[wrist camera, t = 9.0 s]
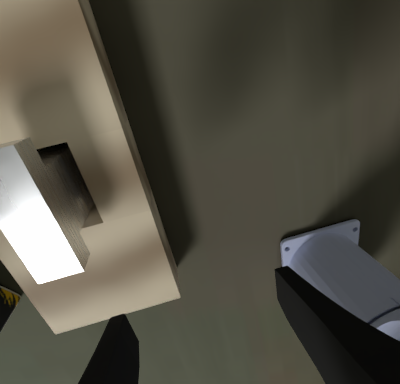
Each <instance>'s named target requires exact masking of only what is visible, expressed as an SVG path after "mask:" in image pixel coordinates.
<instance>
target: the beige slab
mask: <svg viewBox="0 0 400 384" xmlns="http://www.w3.org/2000/svg"><path fill="white" fill-rule="evenodd" d="M28 137H30V138H31V140H32V142H33V144H34V146H35V148H36V149H40V148H44V147H48V146H52V145H57V144H61V143H65V142H67V144H68V146H69V148H70V150H71V153H72V155H73V157H74V159H75V161H76V163H77V166H78V168H79V170H80V172H81V174H82V177H83V179H84V181H85V183H86V185H87V188H88V190H89V192H90V194H91V196H92V199H93V201H94V203H95V204H93V206H92V208H91V210H90V212H89V214H88V216H87V218H86V220H85V223H84V225H83V227H82V229H81V231H80V234H81V236H82V238H83V240H84V242H85V244H86V246H87V248H88V250H89V252H90V256H89V259H88V261H87V264H86V267H85V270H84V271H83V272H79V273H76V274H72V275H69V276H65V277H62V278H58V279H54V280H51V281H47V282H44V283H40V284H38V283H37V281H36V280H35V278H34V277H33V275H32V274H31V272H30V271H29V270H28V268H27V267H26V265H25V264H24V262H23V261H22V259H21V258H20V256H19V255H18V254H17V252H16V251H15V249H14V248H13V246H12V245H11V243H10V242H9V241H8V239H7V238H6V236H5V235H4V233H3V232H2V230H1V229H0V260H1V261H2V263H3V264H4V265H5V267H6V268H7V269H8V271H9V272H10V274H11V275H12V276H13V278H14V279H15V280H16V282H17V283H18V284H19V286H20V287H21V288H22V290H23V291H24V292H25V294H26V295H27V297H28V298H29V299H30V301H31V302H32V303H33V305H34V306H35V307H36V309H37V310H38V311H39V313H40V314H41V316H42V317H43V318H44V320H45V321H46V322H47V324H48V325H49V326H50V328H51V329H52V330H53V332H54V333H55V334H59V333H62V332H66V331H69V330H72V329H76V328H79V327H83V326H86V325H89V324H93V323H96V322H100V321H103V320H106V319H110V318H111V317H113V316H117V315H120V314H124V313H125V314H127V313H130V312H134V311H137V310H140V309H144V308H147V307H151V306H154V305H157V304H161V303H164V302H168V301H171V300H174V299H178V298H181V296H180V288H179V280H178V272H177V266H176V263H175V260H174V257H173V254H172V251H171V248H170V245H169V242H168V239H167V236H166V233H165V230H164V227H163V224H162V221H161V218H160V215H159V212H158V209H157V206H156V203H155V200H154V197H153V194H152V191H151V188H150V185H149V181H148V178H147V175H146V172H145V169H144V166H143V163H142V160H141V157H140V154H139V151H138V148H137V145H136V142H135V139H134V136H133V133H132V130H131V127H130V124H129V121H128V118H127V115H126V112H125V109H124V106H123V103H122V100H121V97H120V94H119V91H118V88H117V85H116V82H115V78H114V75H113V72H112V69H111V66H110V63H109V60H108V57H107V54H106V51H105V48H104V45H103V42H102V39H101V36H100V33H99V30H98V27H97V24H96V21H95V18H94V15H93V12H92V9H91V6H90V3H89V0H0V144H3V143H7V142H11V141H15V140H20V139H24V138H28Z"/></svg>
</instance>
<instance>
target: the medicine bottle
mask: <svg viewBox="0 0 400 384" xmlns="http://www.w3.org/2000/svg"><path fill="white" fill-rule="evenodd" d="M20 298H21V296H20V295H19V294H18V293H15V292H13V291H11V290H9V289H7V288H5V287H2V286H0V332H1V330H2V329H3V327H4V325H5V324H6V322H7V320H8V319H9V317H10V315H11V314H12V312H13V310H14V309H15V307H16V306H17V304H18V302H19V301H20Z"/></svg>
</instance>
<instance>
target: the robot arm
mask: <svg viewBox="0 0 400 384" xmlns="http://www.w3.org/2000/svg"><path fill="white" fill-rule="evenodd" d="M359 231H360V222H359V221H358V220H357V219H352V220H349V221H345V222H342V223H338V224H335V225H331V226H328V227H324V228H321V229H317V230H314V231H310V232H307V233H303V234H300V235H296V236H293V237H289V238H286V239H283V240H282V241H281V243H280V246H281V259H282V267H280V268H277V269H275V278H276V288H277V298H278V301H279V303H280V305H281V307H282V310H283V312H284V314H285V316H286V318H287V320H288V322H289V323H290V325H291V327H292V328H293V330H294V332H295V333H296V335H297V337H298V338H299V340H300V341H301V343H302V345H303V346H304V348H305V350H306V351H307V353H308V354H309V356H310V358H311V359H312V361H313V363H314V364H315V366H316V367H317V369H318V371H319V373H320V374H321V376H322V378H323V380H324V382H325V383H326V384H400V279H398V278H397V277H396V276H395V275H393V274H392V273H391V272H390V271H389V270H387V269H386V268H385V267H384V266H382V265H381V264H380V263H379V262H378V261H376V260H375V259H374V258H373V257H371V256H370V255H369V254H368V253H366V252H365V251H364V250H363V249H362V248H360V247H359V246H358V241H359ZM286 247H287V248H286ZM285 248H286V249H285ZM138 378H139V341H138V339H137V337H136V335H135V333H134V331H133V329H132V327H131V325H130V323H129V321H128V319H127V317H126V315H125V313H124V314H120V315H117V316H113V317H111V318H110V320H109V322H108V324H107V326H106V328H105V331H104V333H103V335H102V337H101V339H100V341H99V343H98V345H97V348H96V350H95V352H94V354H93V356H92V358H91V360H90V362H89V364H88V366H87V368H86V370H85V372H84V373H83V375H82V377H81V379H80V381H79V383H78V384H138Z"/></svg>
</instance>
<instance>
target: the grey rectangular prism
mask: <svg viewBox="0 0 400 384" xmlns="http://www.w3.org/2000/svg"><path fill="white" fill-rule="evenodd" d="M93 204H94V201H93V199H92V196H91V194H90V192H89V190H88V188H87V185H86V183H85V181H84V179H83V177H82V174H81V172H80V170H79V168H78V166H77V163H76V161H75V159H74V157H73V155H72V153H71V150H70V148H69V146H68V144H63V145H59V146H55V147H51V148H47V149H43V150H40V151H39V152H37V150H36V148H35V146H34V144H33V142H32V140H31V138H30V137H28V138H24V139H20V140H15V141H11V142H7V143H3V144H0V229H1V230H2V232H3V233H4V235H5V236H6V238H7V239H8V241H9V242H10V243H11V245H12V246H13V248H14V249H15V251H16V252H17V254H18V255H19V256H20V258H21V259H22V261H23V262H24V264H25V265H26V267H27V268H28V270H29V271H30V272H31V274H32V275H33V277H34V278H35V280H36V281H37V283H38V284H40V283H44V282H47V281H51V280H54V279H58V278H62V277H65V276H69V275H72V274H76V273H79V272H83V271H84V270H85V267H86V264H87V261H88V259H89V256H90V252H89V250H88V248H87V246H86V244H85V242H84V240H83V238H82V236H81V234H80V231H81V229H82V227H83V225H84V223H85V220H86V218H87V216H88V214H89V212H90V210H91V208H92V206H93Z"/></svg>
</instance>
